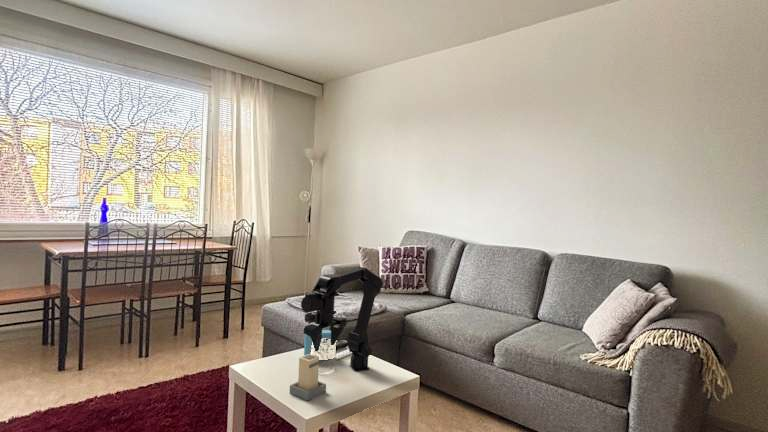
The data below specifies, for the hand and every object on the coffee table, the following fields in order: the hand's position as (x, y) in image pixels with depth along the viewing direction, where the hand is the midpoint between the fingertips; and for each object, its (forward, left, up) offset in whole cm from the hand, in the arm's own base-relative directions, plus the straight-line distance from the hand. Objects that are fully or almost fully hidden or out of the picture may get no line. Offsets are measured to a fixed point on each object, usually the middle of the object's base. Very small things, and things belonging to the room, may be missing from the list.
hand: (324, 348), depth 166 cm
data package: (-4, -23, -13) cm, 27 cm away
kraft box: (+8, +8, -12) cm, 17 cm away
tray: (+8, +8, -13) cm, 17 cm away
